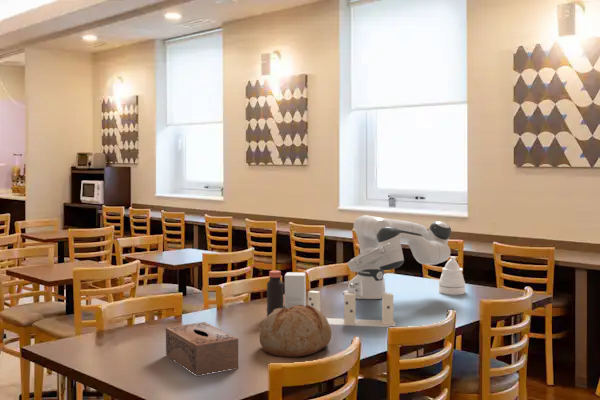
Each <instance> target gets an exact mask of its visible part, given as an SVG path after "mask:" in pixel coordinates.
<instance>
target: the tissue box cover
mask: <svg viewBox="0 0 600 400" xmlns="http://www.w3.org/2000/svg"><path fill="white" fill-rule="evenodd" d="M166 355H167V356H169V357H170V358H172V359H173V360H175V361H176V362H178V363H179V364H181V365H182V366H184V367H185V368H187V369H188V370H190V371H191V372H193V373H194V374H196V375H202V374H207V373H212V372H218V371H223V370H228V369H234V368H238V369H239V338H237V337H236V336H234V335H232V334H230V333H228V332H226V331H224V330H222V329H219V328H217V327H216V326H213V325H211V324H210V323H207V322H206V321H201V322H196V323H189V324H183V325H181V324H180V325H175V326H168V327H165V356H166ZM167 356H166V357H167ZM169 357H168V358H169ZM170 358H169V359H170ZM172 359H171V360H172ZM173 360H172V361H173ZM175 361H174V362H175ZM176 362H175V363H176ZM178 363H177V364H178ZM179 364H178V365H179ZM181 365H180V366H181ZM182 366H181V367H182ZM185 368H184V369H185ZM188 370H187V371H188ZM234 370H235V369H234ZM191 372H190V373H191ZM223 372H224V371H223ZM218 373H219V372H218ZM194 374H193V375H194Z"/></svg>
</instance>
